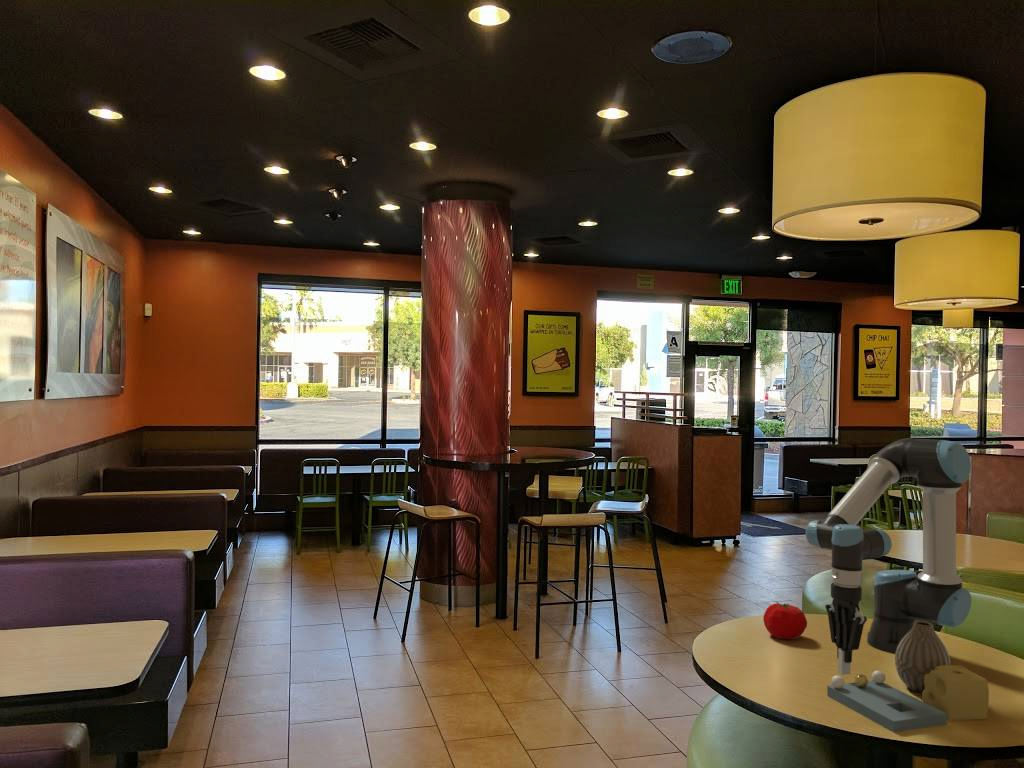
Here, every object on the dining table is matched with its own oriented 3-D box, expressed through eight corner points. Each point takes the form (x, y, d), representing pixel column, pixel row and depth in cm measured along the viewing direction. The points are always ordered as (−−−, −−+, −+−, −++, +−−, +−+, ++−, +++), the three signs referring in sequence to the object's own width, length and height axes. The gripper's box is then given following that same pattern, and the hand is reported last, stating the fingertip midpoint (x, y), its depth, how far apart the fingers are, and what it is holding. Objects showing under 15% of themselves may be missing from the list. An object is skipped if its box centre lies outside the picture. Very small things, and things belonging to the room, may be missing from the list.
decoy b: (838, 685, 204) (838, 672, 204) (847, 689, 201) (847, 677, 201) (828, 686, 203) (828, 674, 203) (837, 691, 200) (837, 678, 200)
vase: (956, 689, 209) (958, 623, 209) (941, 703, 200) (942, 634, 200) (904, 675, 218) (905, 612, 218) (886, 688, 209) (888, 622, 209)
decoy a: (878, 680, 208) (878, 668, 208) (888, 684, 205) (888, 672, 205) (868, 681, 207) (869, 669, 207) (878, 686, 204) (878, 673, 204)
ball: (861, 684, 205) (861, 671, 205) (870, 688, 202) (871, 676, 202) (851, 685, 204) (851, 673, 204) (860, 690, 201) (860, 677, 201)
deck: (877, 689, 208) (877, 679, 208) (947, 724, 187) (947, 713, 187) (827, 695, 203) (827, 685, 203) (893, 732, 182) (893, 721, 182)
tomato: (755, 635, 251) (756, 602, 251) (775, 628, 259) (775, 595, 259) (794, 646, 241) (795, 612, 241) (814, 638, 249) (814, 604, 249)
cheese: (921, 703, 199) (922, 664, 199) (961, 703, 200) (962, 664, 200) (947, 721, 189) (948, 680, 189) (990, 721, 190) (991, 679, 190)
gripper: (817, 579, 213) (815, 666, 213) (852, 591, 201) (850, 683, 201) (840, 577, 216) (838, 663, 216) (876, 589, 203) (873, 681, 203)
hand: (844, 673), depth 208 cm, fingers closed
